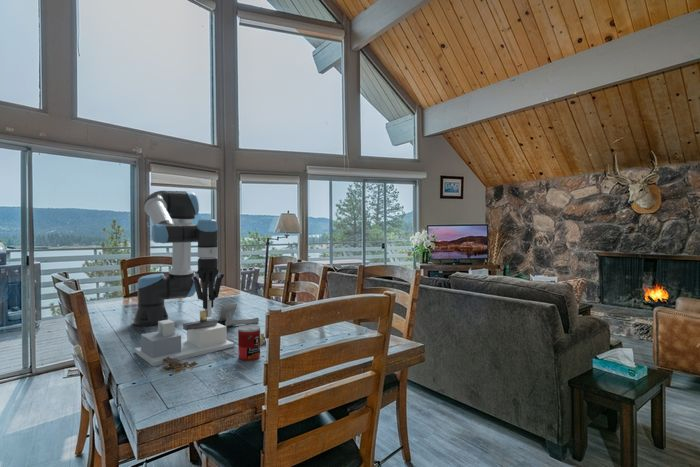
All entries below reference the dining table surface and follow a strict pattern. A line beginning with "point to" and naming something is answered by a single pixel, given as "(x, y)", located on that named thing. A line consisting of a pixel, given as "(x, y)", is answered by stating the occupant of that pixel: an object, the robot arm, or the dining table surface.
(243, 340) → the canned food
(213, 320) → the bolt
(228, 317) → the door handle
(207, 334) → the white stepped platform
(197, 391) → the dining table surface
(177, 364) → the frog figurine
